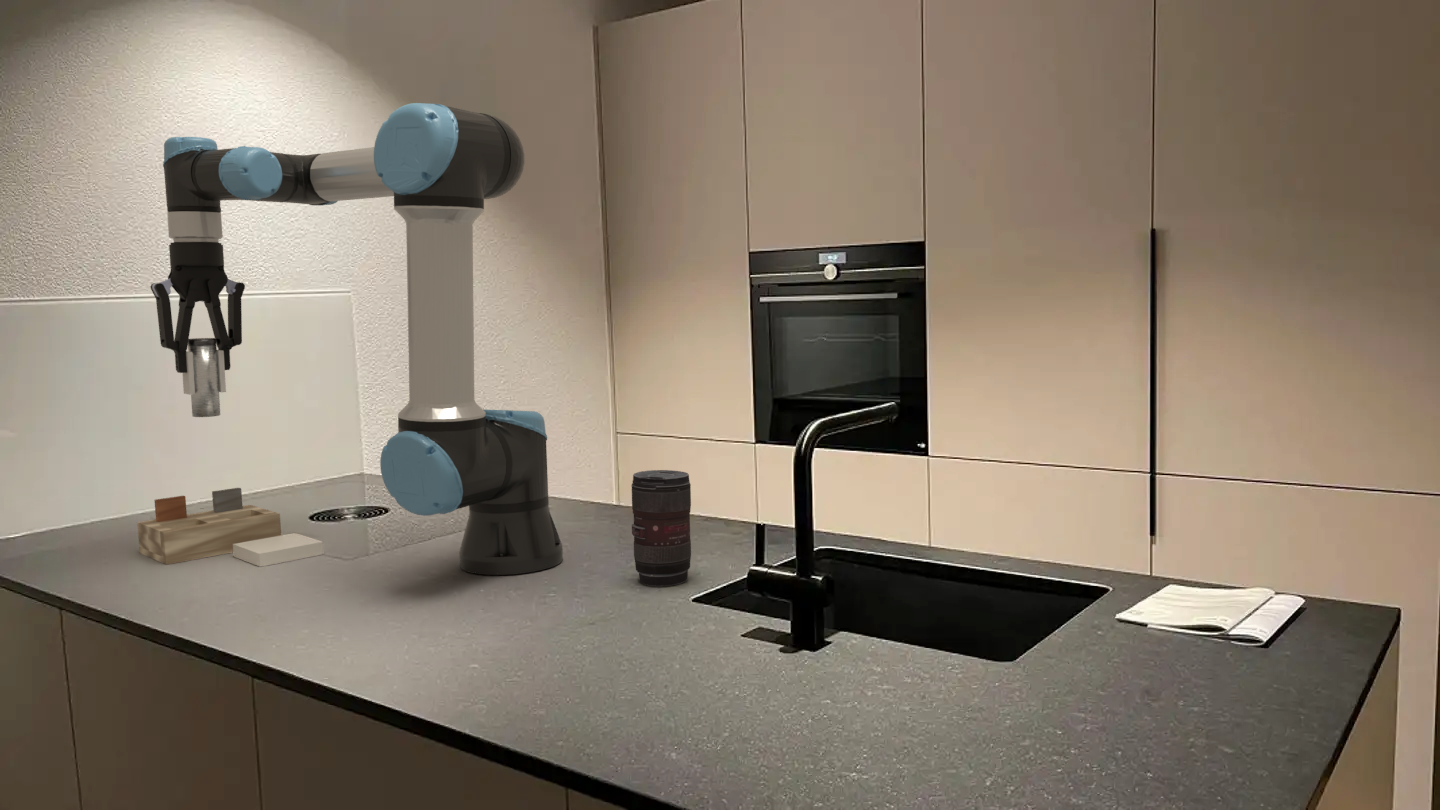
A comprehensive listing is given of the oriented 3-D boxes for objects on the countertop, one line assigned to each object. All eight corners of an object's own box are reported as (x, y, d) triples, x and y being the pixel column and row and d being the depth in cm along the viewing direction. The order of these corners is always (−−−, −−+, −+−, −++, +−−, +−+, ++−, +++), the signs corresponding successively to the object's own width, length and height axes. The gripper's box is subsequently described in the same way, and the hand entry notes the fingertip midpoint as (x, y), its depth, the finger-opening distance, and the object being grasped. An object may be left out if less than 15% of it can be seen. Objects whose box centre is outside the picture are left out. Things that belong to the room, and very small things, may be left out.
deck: (323, 554, 176) (322, 541, 175) (260, 566, 169) (259, 553, 168) (295, 545, 183) (294, 533, 182) (233, 556, 176) (232, 544, 175)
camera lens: (685, 589, 150) (682, 478, 149) (627, 587, 152) (623, 478, 150) (699, 573, 158) (696, 468, 156) (643, 572, 160) (640, 468, 158)
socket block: (281, 543, 184) (278, 492, 183) (166, 564, 171) (161, 510, 171) (251, 533, 193) (248, 484, 192) (139, 552, 180) (135, 500, 179)
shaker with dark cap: (224, 415, 175) (219, 338, 174) (197, 417, 172) (193, 339, 171) (214, 413, 178) (210, 337, 177) (188, 415, 175) (183, 338, 174)
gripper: (242, 242, 180) (250, 386, 183) (128, 240, 169) (138, 395, 171) (261, 241, 175) (269, 390, 178) (144, 239, 163) (154, 399, 166)
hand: (204, 392), depth 175 cm, fingers closed on shaker with dark cap, 4 cm apart
